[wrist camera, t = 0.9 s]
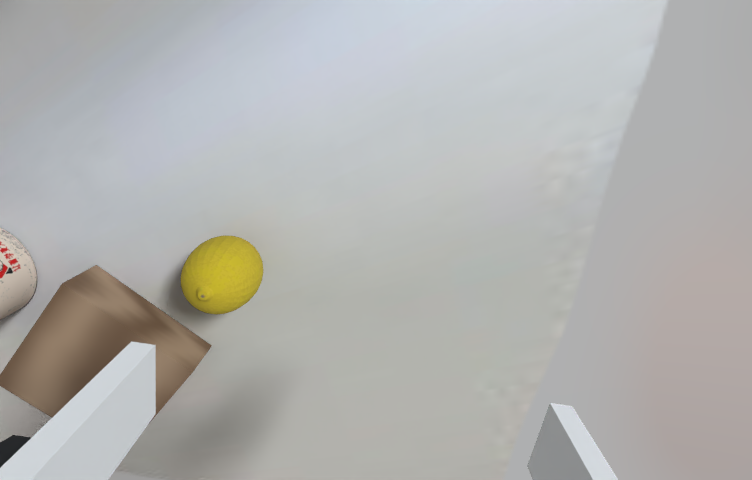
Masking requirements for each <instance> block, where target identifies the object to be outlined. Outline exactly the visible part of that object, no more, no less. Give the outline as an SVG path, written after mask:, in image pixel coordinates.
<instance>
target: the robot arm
mask: <svg viewBox="0 0 752 480" xmlns="http://www.w3.org/2000/svg"><path fill="white" fill-rule="evenodd" d="M155 414H156V346H155V345H152V344H145V343H139V342H132V341H131V342H130V343H129V344H128V345H127V346H126V347H125V348H124V349H123V350H122V351H121V352H120V353H119V354H118V355H117V356H116V357H115V358H114V359H113V360H112V361H111V362H110V363H109V364H108V365H107V366H106V367H104V368H103V369H102V370H101V371H100V372H99V373H98V374H97V375H96V376H95V377H94V378H93V379H92V380H91V381H90V382H89V383H88V384H87V385H86V386H85V387H84V388H83V389H82V390H81V391H80V392H78V393H77V394H76V395H75V396H74V397H73V398H72V399H71V400H70V401H69V402H68V403H67V404H66V405H65V406H64V407H63V408H62V409H61V410H60V411H59V412H58V413H57V414H56V415H55V416H54V417H53V418H51V419H50V420H49V421H48V422H47V423H46V424H45V425H44V426H43V427H42V428H41V429H40V430H39V431H38V432H37V433H36V434H35V435H34V436H33V437H32V438H30V437H23V436H15V435H13V436H11V437H9V438H8V439H6V440H4V441H2V442H1V443H0V480H108V479H109V478H110V476H111V475H112V474H113V472H114V471H115V470H116V468H117V467H118V465H119V464H120V463H121V461H122V460H123V458H124V457H125V456H126V454H127V453H128V452H129V450H130V449H131V447H132V446H133V445H134V443H135V442H136V440H137V439H138V438H139V436H140V435H141V433H142V432H143V431H144V429H145V428H146V427H147V425H148V424H149V422H150V421H151V420H152V418H153V417H154V415H155ZM528 469H529V471H530V474H531V476H532V479H533V480H618V479H617V477H616V475H615V474H614V472H613V471H612V469H611V468H610V466H609V464H608V463H607V461H606V459H605V458H604V456H603V455H602V453H601V452H600V450H599V448H598V447H597V445H596V443H595V442H594V440H593V439H592V437H591V435H590V434H589V432H588V431H587V429H586V428H585V426H584V424H583V423H582V421H581V420H580V418H579V416H578V415H577V413H576V412H575V410H574V408H573V407H572V406H567V405H560V404H553V403H550V405H549V407H548V410H547V413H546V416H545V418H544V421H543V424H542V427H541V430H540V432H539V435H538V438H537V441H536V443H535V446H534V449H533V452H532V454H531V457H530V460H529V463H528Z"/></svg>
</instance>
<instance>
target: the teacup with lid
mask: <svg viewBox="0 0 752 480" xmlns="http://www.w3.org/2000/svg"><path fill="white" fill-rule="evenodd" d="M36 284H37V273H36V268H35V265H34V262H33V260H32V258H31V256H30V254H29V253H28V251H27V250H26V248H25V247H24V246H23V245H22V244H21V243H20V242H19V241H18V240H17V239H16V238H15V237H14V236H13V235H11V234H10V233H9V232H7V231H5V230H4V229H2V228H0V320H1V319H3V318H4V317H6V316H8V315H10V314H12V313H13V312H15V311H17V310H19V309H21V308H22V307H23V306H25V305H26V304H27V303H28V302H29V301H30V299H31V298H32V296H33V294H34V292H35V289H36Z"/></svg>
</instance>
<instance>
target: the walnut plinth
mask: <svg viewBox="0 0 752 480" xmlns="http://www.w3.org/2000/svg"><path fill="white" fill-rule="evenodd" d="M131 341H132V342H139V343H145V344H152V345H155V346H156V414H155V415H154V417H155V416H156V415H157V413H158V412H159V411H160V410H161V409H162V407H163V406H164V405H165V404H166V403H167V402H168V400H169V399H170V398H171V397H172V396H173V395H174V393H175V392H176V391H177V390H178V389H179V388H180V386H181V385H182V384H183V383H184V382H185V380H186V379H187V378H188V377H189V376H190V375H191V373H192V372H193V371H194V370H195V368H196V367H197V365H198V364H199V363H200V361H201V360H202V358H203V357H204V356H205V354H206V353H207V352H208V350H209V349H210V347H211V345H210V344H208V343H207V342H206V341H204V340H203V339H201V338H200V337H198V336H197V335H196V334H194V333H193V332H191V331H190V330H188V329H187V328H186V327H184V326H183V325H181V324H180V323H178V322H177V321H176V320H174V319H173V318H171V317H170V316H168V315H167V314H166V313H164V312H163V311H161V310H160V309H158V308H157V307H156V306H154V305H153V304H151V303H150V302H148V301H147V300H146V299H144V298H143V297H141V296H140V295H138V294H137V293H136V292H134V291H133V290H131V289H130V288H128V287H127V286H126V285H124V284H123V283H121V282H120V281H118V280H117V279H116V278H114V277H113V276H111V275H110V274H108V273H107V272H106V271H104V270H103V269H101V268H100V267H98V266H97V265H95V266H94V267H92V268H90V269H88V270H86V271H84V272H83V273H81V274H79V275H77V276H75V277H73V278H72V279H70V280H68V281H66V282H64V283H63V284H62V285H61V286H60V288H59V289H58V291H57V292H56V294H55V295H54V296H53V298H52V299H51V301H50V302H49V304H48V305H47V307H46V308H45V310H44V311H43V313H42V314H41V316H40V317H39V319H38V320H37V321H36V323H35V324H34V326H33V327H32V329H31V330H30V332H29V333H28V335H27V336H26V338H25V339H24V341H23V342H22V344H21V345H20V346H19V348H18V349H17V351H16V352H15V354H14V355H13V357H12V358H11V360H10V361H9V363H8V364H7V366H6V367H5V369H4V370H3V371H2V373H1V374H0V386H1V387H3V388H5V389H6V390H8V391H10V392H11V393H13V394H14V395H16V396H18V397H19V398H21V399H23V400H24V401H26V402H28V403H29V404H31V405H32V406H34V407H36V408H37V409H39V410H41V411H42V412H44V413H46V414H47V415H49V416H51V417H52V418H53V417H54V416H55V415H56V414H57V413H58V412H59V411H60V410H61V409H62V408H63V407H64V406H65V405H66V404H67V403H68V402H69V401H70V400H71V399H72V398H73V397H74V396H75V395H76V394H77V393H78V392H80V391H81V390H82V389H83V388H84V387H85V386H86V385H87V384H88V383H89V382H90V381H91V380H92V379H93V378H94V377H95V376H96V375H97V374H98V373H99V372H100V371H101V370H102V369H103V368H104V367H106V366H107V365H108V364H109V363H110V362H111V361H112V360H113V359H114V358H115V357H116V356H117V355H118V354H119V353H120V352H121V351H122V350H123V349H124V348H125V347H126V346H127V345H128V344H129V343H130V342H131ZM154 417H153V418H154ZM153 418H152V419H153ZM150 422H151V421H150ZM150 422H149V423H150Z"/></svg>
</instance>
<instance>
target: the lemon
mask: <svg viewBox="0 0 752 480" xmlns="http://www.w3.org/2000/svg"><path fill="white" fill-rule="evenodd" d="M262 276H263V263H262V260H261V257H260V255H259V253H258V251H257V250H256V249H255V247H254V246H253V245H251V244H250V243H249V242H248V241H246V240H244V239H242V238H239V237H235V236H219V237H215V238H211V239H209V240H207V241H205V242H204V243H202V244H200V245H199V246H198V247H197V248H196V249H195V250H194V251H193V252H192V253H191V254H190V255H189V257H188V259H187V260H186V262H185V264H184V266H183V269H182V273H181V288H182V291H183V294H184V296H185V297H186V299H187V301H188V302H189V303H190V304H191V305H192V306H193V307H195V308H197V309H198V310H200V311H203V312H205V313H210V314H225V313H228V312H231V311H234V310H236V309H238V308H239V307H241V306H243V305H244V304H245V303H247V302H248V301H249V300H250V299H251V298H252V297H253V295H254V294H255V293H256V292H257V290H258V288H259V286H260V283H261V281H262Z"/></svg>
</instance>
